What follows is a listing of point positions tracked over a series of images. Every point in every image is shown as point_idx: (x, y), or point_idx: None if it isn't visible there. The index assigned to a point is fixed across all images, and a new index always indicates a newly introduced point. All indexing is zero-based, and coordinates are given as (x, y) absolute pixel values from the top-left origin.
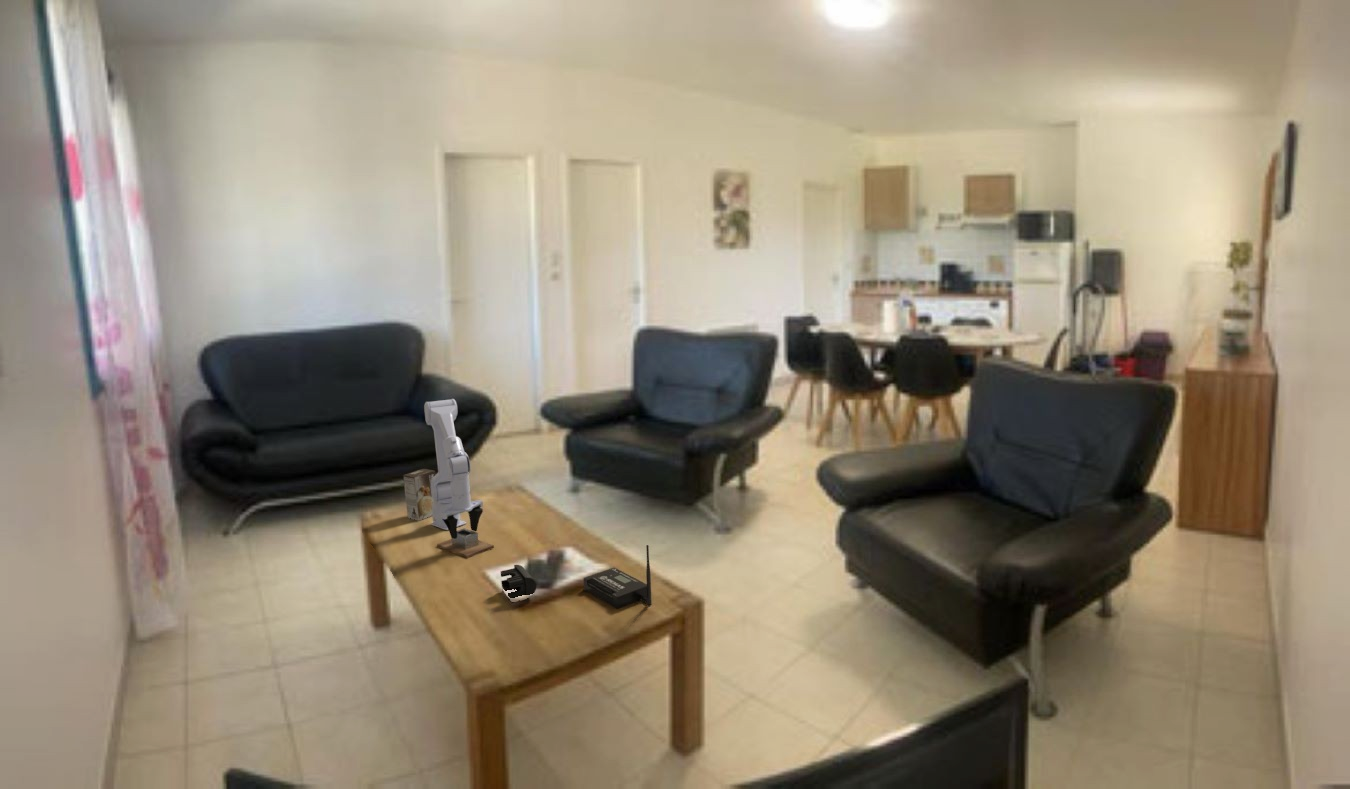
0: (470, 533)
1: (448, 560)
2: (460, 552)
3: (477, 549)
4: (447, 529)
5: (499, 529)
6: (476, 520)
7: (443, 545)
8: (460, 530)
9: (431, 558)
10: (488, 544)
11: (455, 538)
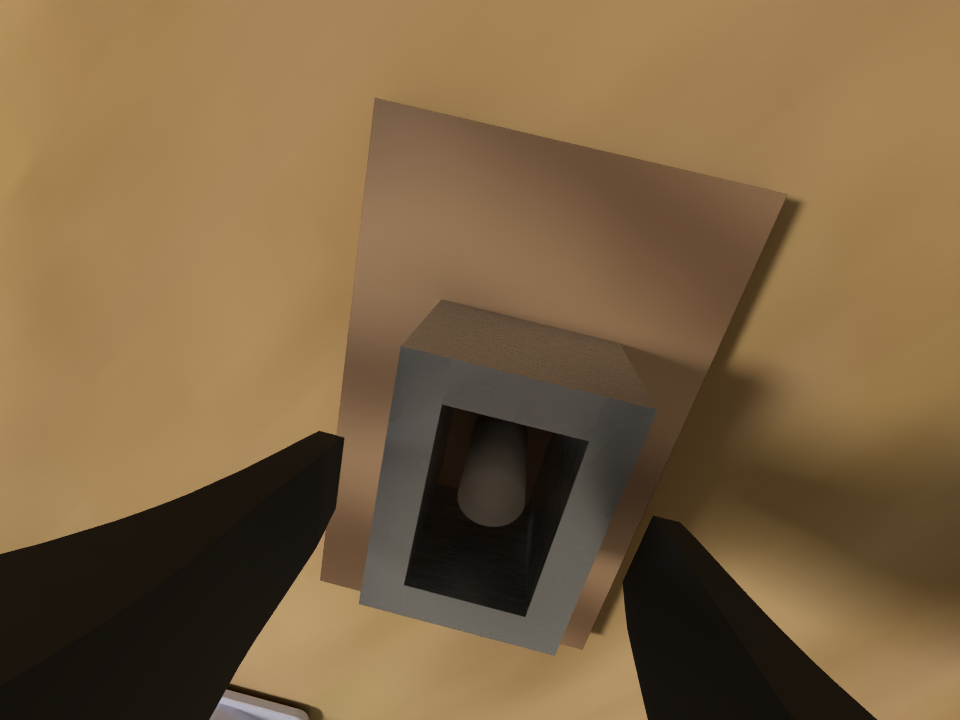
0: (433, 451)
1: (876, 359)
2: (709, 343)
3: (564, 211)
4: (301, 717)
5: (36, 393)
6: (223, 526)
7: (593, 591)
8: (439, 603)
9: (848, 535)
10: (382, 190)
11: (674, 523)
